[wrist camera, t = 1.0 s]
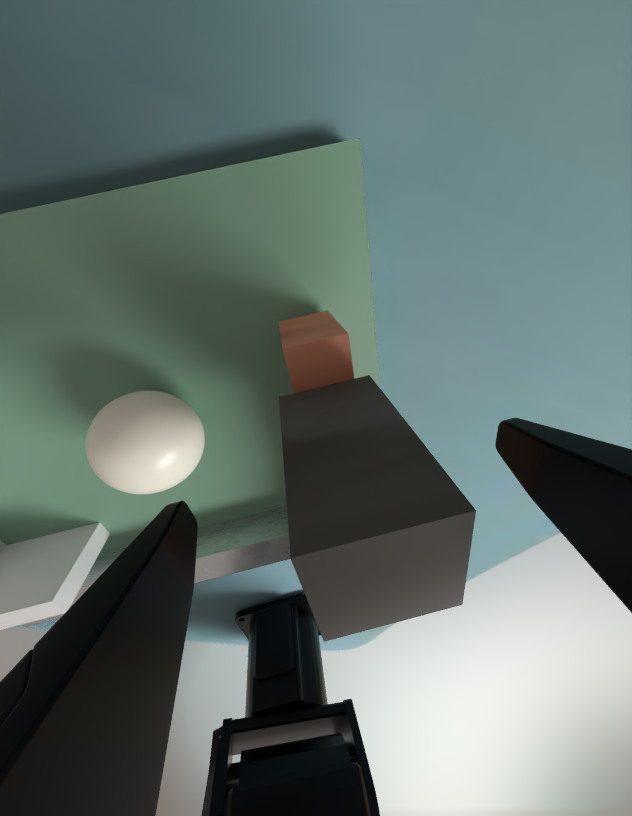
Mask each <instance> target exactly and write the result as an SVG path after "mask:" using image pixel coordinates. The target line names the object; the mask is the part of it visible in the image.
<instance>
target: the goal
mask: <svg viewBox="0 0 632 816" xmlns="http://www.w3.org/2000/svg"><path fill="white" fill-rule="evenodd" d="M109 535H110V533H109V532H108V531H107V530H106V529H105V527H104V526H103V525H102V524H101V523H100V522H99V523H95V524H91V525H87V526H83V527H79V528H75V529H71V530H67V531H63V532H58V533H54V534H50V535H46V536H42V537H38V538H34V539H30V540H26V541H22V542H18V543H14V544H10V545H6V544H4V543H3V542H2V541H1V540H0V630H2V629H5V628H9V627H13V626H17V625H21V624H25V623H29V622H33V621H37V620H41V619H44V618H48V617H52V616H56V615H60V614H64V613H66V612H67V610H68V609H69V608H70V606H71V604H72V603H73V601H74V599H75V597H76V595H77V593H78V592H79V590H80V588H81V586H82V584H83V582H84V581H85V579H86V577H87V575H88V573H89V571H90V570H91V568H92V566H93V564H94V562H95V560H96V559H97V557H98V555H99V553H100V551H101V549H102V548H103V546H104V544H105V542H106V540H107V538H108V537H109Z"/></svg>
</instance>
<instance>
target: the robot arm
mask: <svg viewBox="0 0 632 816" xmlns="http://www.w3.org/2000/svg"><path fill="white" fill-rule="evenodd" d="M496 449H497V451H498V453H499V454H500V456H501V457H502V459H503V460H504V461H505V463H506V464H507V466H508V467H509V468H510V470H511V471H512V473H513V474H514V475H515V477H516V478H517V479H518V481H519V482H520V484H521V485H522V486H523V488H524V489H525V491H526V492H527V493H528V494H529V496H530V497H531V498H532V499H533V501H534V502H535V503H536V504H537V505H538V507H539V508H540V509H541V510H542V511H543V512H544V513H545V515H546V516H547V517H548V518H549V519H550V520H551V521H552V523H553V524H554V525H555V526H556V527H557V528H558V529H559V531H560V532H561V533H562V534H563V535H564V536H565V537H566V538H567V540H568V541H569V542H570V543H571V544H572V545H573V546H574V548H575V549H577V551H578V552H579V553H580V554H581V556H582V557H583V558H584V559H585V560H586V561H587V562H588V564H589V565H590V566H591V567H592V568H593V569H594V570H595V572H596V573H597V574H598V575H599V576H600V577H601V578H602V580H603V581H604V582H605V583H606V584H607V585H608V586H609V587H610V589H611V590H612V591H613V592H614V593H615V594H616V595H617V597H618V598H619V599H620V600H621V601H622V602H623V603H624V604H625V606H626V607H627V608H628V609H629V610H630V611H631V613H632V449H628V448H624V447H621V446H617V445H613V444H610V443H606V442H603V441H599V440H595V439H592V438H588V437H584V436H581V435H577V434H573V433H570V432H566V431H563V430H559V429H555V428H552V427H548V426H544V425H541V424H537V423H533V422H530V421H526V420H522V419H519V418H512V419H508V420H504V421H501V422H500V424H499V426H498V432H497V438H496ZM197 534H198V524H197V520H196V518H195V516H194V515H193V513H192V511H191V510H190V508H189V507H188V505H187V503H186V502H185V501H177V502H173V503H170V504H167V505H166V506H165V507H164V508H163V509H162V510H161V511H160V512H159V514H158V515H157V516H156V517H155V518H154V519H153V520H152V521H151V522H150V523H149V524H148V525H147V526H146V527H145V528H144V530H143V531H142V532H141V533H140V534H139V535H138V536H137V537H136V538H135V539H134V540H133V541H132V542H131V543H130V544H129V545H128V547H127V548H126V549H125V550H124V551H123V552H122V553H121V554H120V555H119V556H118V557H117V558H116V559H115V560H114V561H113V563H112V564H111V565H110V566H109V567H108V568H107V569H106V570H105V571H104V572H103V573H102V574H101V575H100V576H99V577H98V579H97V580H96V581H95V582H94V583H93V584H92V585H91V586H90V587H89V588H88V589H87V590H86V591H85V592H84V593H83V594H82V596H81V597H80V598H79V599H78V600H77V601H76V602H75V603H74V604H73V605H72V606H71V607H70V608H69V609H68V610H67V612H66V613H65V614H64V615H63V616H62V617H61V618H60V619H59V620H58V621H57V622H56V623H55V624H54V625H53V626H52V627H51V629H50V630H49V631H48V632H47V633H46V634H45V635H44V636H43V637H42V638H41V639H40V640H39V641H38V642H37V644H36V645H35V646H34V649H33V650H30V651H29V652H28V653H27V654H26V655H25V656H24V657H23V658H22V659H21V660H20V661H19V663H18V664H17V665H16V666H15V667H14V668H13V669H12V670H11V671H10V672H9V673H8V674H7V675H6V676H5V677H4V678H3V679H2V680H1V681H0V816H155V815H156V809H157V803H158V796H159V791H160V785H161V779H162V773H163V767H164V761H165V755H166V749H167V744H168V738H169V731H170V725H171V720H172V714H173V708H174V702H175V696H176V690H177V684H178V678H179V672H180V666H181V660H182V654H183V649H184V643H185V637H186V631H187V625H188V619H189V613H190V607H191V601H192V595H193V588H194V580H195V566H196V550H197ZM235 621H236V623H237V624H238V625H239V627H240V628H241V630H242V631H243V632H244V634H245V635H246V637H247V638H248V640H249V649H248V670H247V691H246V712H245V714H246V715H245V718H241V719H235V720H232V718H229V719H224V720H223V726H222V727H220V728H219V729H217V730H215V731H213V739H212V748H211V757H210V766H209V774H208V780H207V786H206V792H205V798H204V804H203V810H202V816H380V814H379V807H378V802H377V797H376V792H375V788H374V784H373V780H372V776H371V772H370V768H369V764H368V760H367V757H366V753H365V749H364V745H363V741H362V737H361V734H360V730H359V726H358V722H357V718H356V714H355V711H354V707H353V703H352V700H351V699H347V700H344V701H343V702H340V703H334V704H327V697H326V689H325V681H324V674H323V666H322V658H321V651H320V643H319V636H320V635H321V633H320V630H319V628H318V625H317V623H316V620H315V618H314V615H313V613H312V610H311V608H310V605H309V603H308V600H307V598H306V595H305V594H304V595H301V596H297V597H293V598H289V599H285V600H282V601H278V602H274V603H270V604H266V605H262V606H259V607H255V608H251V609H247V610H243V611H240V612H238V613H236V618H235ZM237 754H241V761H240V762H237V763H232V755H237Z"/></svg>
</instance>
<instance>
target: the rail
mask: <svg viewBox="0 0 632 816" xmlns="http://www.w3.org/2000/svg"><path fill="white" fill-rule="evenodd" d="M127 547H128V546H124V547H120V548H116V549H112V550H108V551H104V552H100V553H99V555H98V557H97V559H96V560H95V562H94V564H93V566H92V568H91V570H90V571H89V573H88V575H87V577H86V579H85V581H84V582H83V584H82V586H81V588H80V590H79V592H78V593H77V595H76V597H75V599H74V601H73V603H72V604H71V606H72V605H73V604H74V603H75V602H76V601H77V600H78V599H79V598H80V597H81V596H82V594H83V593H84V592H85V591H86V590H87V589H88V588H89V587H90V586H91V585H92V584H93V583H94V582H95V581H96V580H97V579H98V577H99V576H100V575H101V574H102V573H103V572H104V571H105V570H106V569H107V568H108V567H109V566H110V565H111V564H112V563H113V561H114V560H115V559H116V558H117V557H118V556H119V555H120V554H121V553H122V552H123V551H124V550H125V549H126V548H127ZM287 559H291V556H290V543H289V529H288V516H287V506H284V507H280V508H276V509H272V510H268V511H264V512H260V513H256V514H252V515H248V516H244V517H240V518H236V519H232V520H228V521H224V522H220V523H216V524H212V525H208V526H204V527H200V528H198V534H197V550H196V566H195V580H194V583H198V582H202V581H206V580H210V579H213V578H217V577H221V576H225V575H229V574H233V573H237V572H241V571H244V570H248V569H252V568H256V567H260V566H264V565H268V564H272V563H276V562H279V561H283V560H287ZM71 606H70V607H71ZM64 614H65V613H64ZM64 614H60V615H56V616H52V617H48V618H44V619H41V620H37V621H33V622H29V623H25V624H22V625H24V626H25V627H27V626H31V625H35V624H39V623H42V622H46V621H50V620H54V619H58V618H61V617H62V616H63V615H64Z"/></svg>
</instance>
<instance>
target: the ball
mask: <svg viewBox="0 0 632 816" xmlns="http://www.w3.org/2000/svg"><path fill="white" fill-rule="evenodd" d="M204 444H205V435H204V429H203V425H202V423H201V420H200V418H199V417H198V415H197V414H196V412H195V411H194V410H193V409H192V408H191V406H190V405H188V404H187V403H186V402H185V401H183V400H181V399H180V398H178V397H176V396H174V395H171V394H168V393H165V392H160V391H138V392H133V393H129V394H126V395H123V396H121V397H119V398H117V399H115V400H113V401H111V402H110V403H108V404H107V405H106V406H105V407H104V408H102V409H101V410H100V411H99V413H98V414H97V415H96V416H95V418H94V419H93V421H92V423H91V425H90V427H89V429H88V432H87V436H86V442H85V449H86V456H87V459H88V462H89V464H90V466H91V468H92V470H93V471H94V473H95V474H96V475H97V476H98V477H99V478H100V479H101V480H102V481H103V482H104V483H106V484H107V485H109V486H111V487H112V488H115V489H117V490H119V491H122V492H126V493H131V494H152V493H158V492H161V491H165V490H167V489H169V488H172V487H174V486H175V485H177V484H179V483H180V482H182V481H183V480H184V479H186V478H187V477H188V476H189V475H190V474H191V473H192V472H193V470H194V469H195V467H196V466H197V465H198V463H199V461H200V459H201V457H202V454H203V450H204Z"/></svg>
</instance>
